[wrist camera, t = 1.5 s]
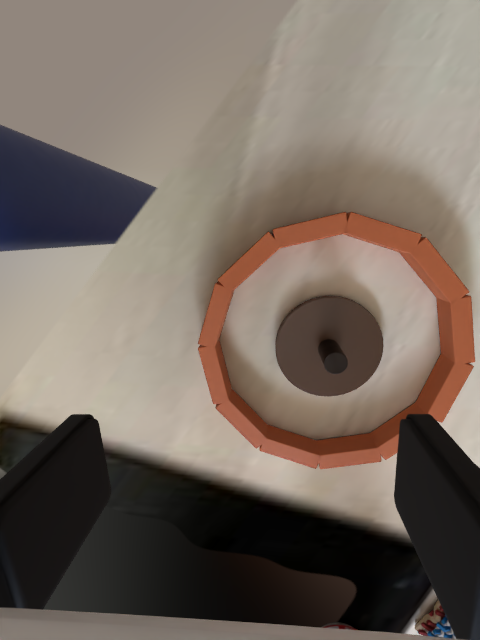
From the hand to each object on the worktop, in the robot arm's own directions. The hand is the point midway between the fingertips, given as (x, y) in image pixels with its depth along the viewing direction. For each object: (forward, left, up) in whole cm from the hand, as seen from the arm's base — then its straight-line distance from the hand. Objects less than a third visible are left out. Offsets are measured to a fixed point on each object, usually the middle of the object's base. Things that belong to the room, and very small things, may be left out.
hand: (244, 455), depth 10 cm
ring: (+6, -1, -19) cm, 20 cm away
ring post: (+6, -1, -19) cm, 20 cm away
